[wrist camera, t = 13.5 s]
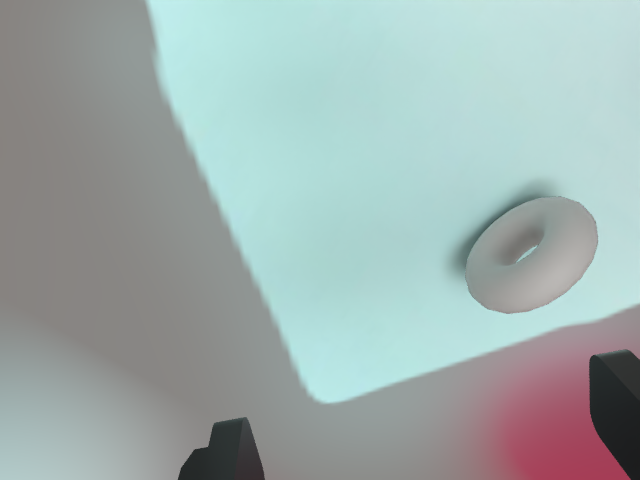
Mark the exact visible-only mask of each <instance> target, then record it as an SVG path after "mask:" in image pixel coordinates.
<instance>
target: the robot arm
mask: <svg viewBox="0 0 640 480" xmlns="http://www.w3.org/2000/svg"><path fill="white" fill-rule="evenodd" d="M589 363H590V364H589V368H590V369H589V376H590V377H589V378H590V414H591V418H592V422H593V425H594V427H595V430H596V432H597V434H598V435H599V437H600V438H601V440H602V441H603V443H604V444H605V445H606V447H607V448H608V449H609V451H610V452H611V453H612V455H613V456H614V458H615V459H616V460H617V462H618V463H619V464H620V466H621V467H622V468H623V470H624V471H625V472H626V474H627V475H628V476H629V478H630V479H631V480H640V360H639V359H638V358H637V357H636V356H635V355H634V354H633V353H632V352H631V351H629V350H619V351H614V352H608V353H603V354H597V355H593V356H592V357H591V358H590V362H589ZM178 480H265V478H264V471H263V467H262V463H261V460H260V457H259V453H258V450H257V447H256V443H255V440H254V437H253V434H252V430H251V427H250V424H249V421H248V419H247V418H246V417H244V418H238V419H233V420H227V421H222V422H216V423H214V425H213V428H212V433H211V437H210V441H209V446H208V447H206V448H200V449H195V450H194V451H193V452H192V454H191V455H190V456H189V458H188V459H187V461H186V462H185V463H184V465H183V466H182V468H181V471H180V474H179V477H178Z"/></svg>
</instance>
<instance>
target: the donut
mask: <svg viewBox="0 0 640 480" xmlns="http://www.w3.org/2000/svg"><path fill="white" fill-rule="evenodd" d="M597 244H598V234H597V227H596V222H595V220H594V218H593V216H592V215H591V214H590V213H589V212H588V211H587V209H586V208H585V207H584V206H583V205H581V204H580V203H579V202H576V201H573V200H570V199H567V198H563V197H543V198H537V199H534V200H531V201H528V202H525V203H523V204H521V205H519V206H517V207H515V208H513V209H511V210H509V211H508V212H506V213H505V214H504V215H502V216H501V217H500V218H498V219H497V220H495V221H494V222H493V223H492V224H491V225H490V226H489V227H488V228H487V229H486V230H485V231H484V232H483V233H482V234H481V236H480V237H479V239H478V240H477V241H476V243H475V244H474V245H473V247H472V250H471V252H470V254H469V256H468V258H467V263H466V270H465V279H466V283H467V286H468V289H469V292H470V294H471V295H472V297H473V298H474V299H475V300H476V301H478V302H479V303H480V304H481V305H482V306H484V307H485V308H487V309H489V310H493V311H498V312H502V313H506V314H510V313H519V312H527V311H531V310H533V309H536V308H539V307H541V306H544V305H547V304H549V303H550V302H552V301H553V300H555V299H557V298H558V297H560V296H561V295H563V294H564V293H566V292H567V291H568V290H569V289H570V288H571V287H572V286H573V285H574V284H575V283H576V282H577V281H578V280H580V279H581V277H582V276H583V274H584V273H585V271H586V270H587V268H588V267H589V265H590V264H591V262H592V260H593V258H594V254H595V251H596V248H597ZM536 245H538V247H537V248H536V249H535V250H533V251H532V252H531V253H530V254H529V255H528V256H526V257H525V258H523V259H522V260H521V261H519V262H516V261H517V260H518V259H519V258H520V257H521V256H522V255H523V254H524V253H525V252H526V251H528V250H529V249H531V248H532V247H534V246H536Z"/></svg>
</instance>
